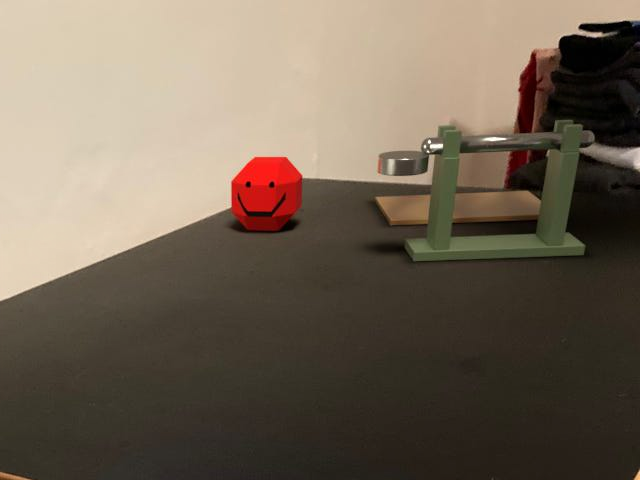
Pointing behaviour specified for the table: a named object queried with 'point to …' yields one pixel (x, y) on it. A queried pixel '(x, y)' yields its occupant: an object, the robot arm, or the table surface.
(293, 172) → the ball
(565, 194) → the rack
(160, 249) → the table surface
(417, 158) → the ladle
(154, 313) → the table surface
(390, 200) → the brown wooden board
